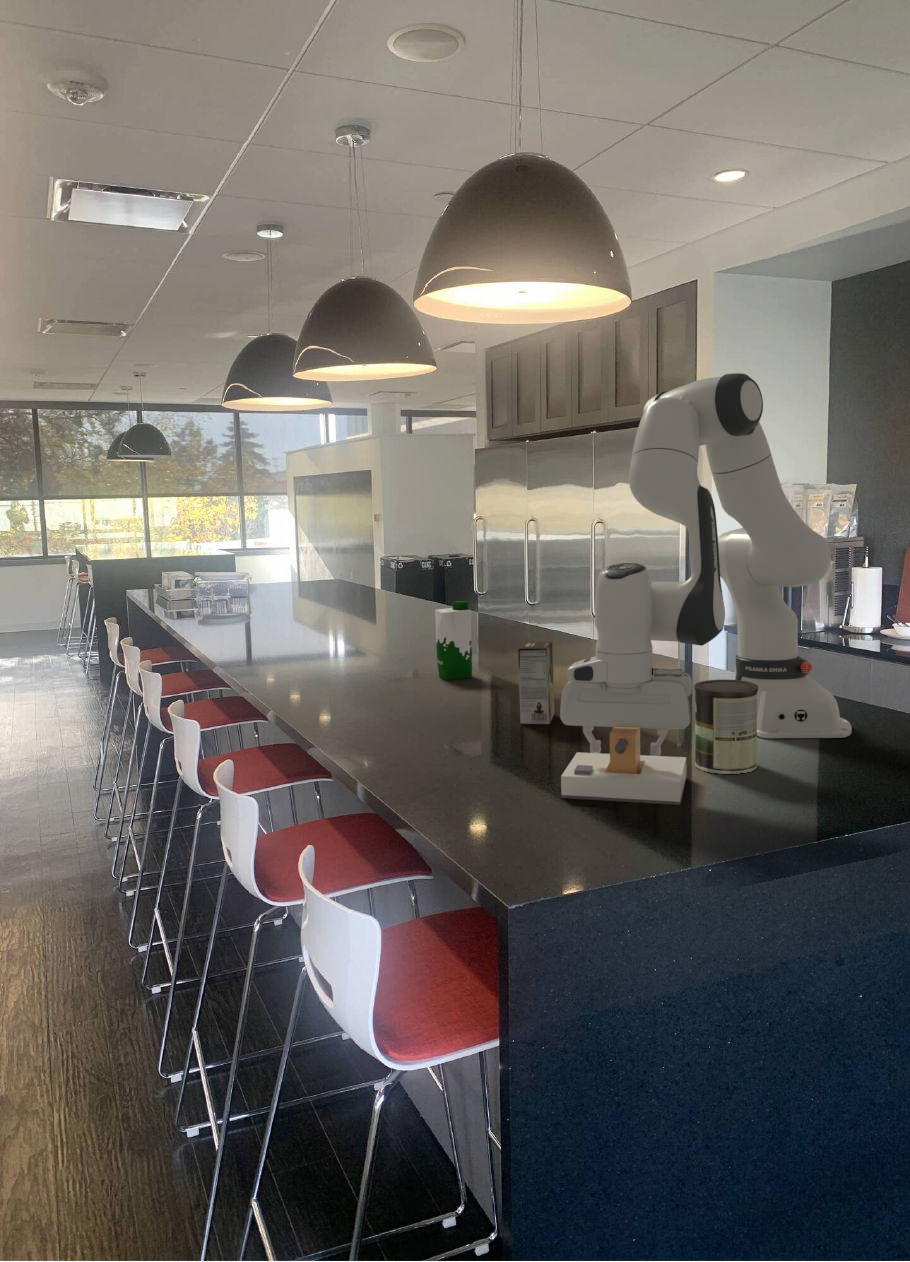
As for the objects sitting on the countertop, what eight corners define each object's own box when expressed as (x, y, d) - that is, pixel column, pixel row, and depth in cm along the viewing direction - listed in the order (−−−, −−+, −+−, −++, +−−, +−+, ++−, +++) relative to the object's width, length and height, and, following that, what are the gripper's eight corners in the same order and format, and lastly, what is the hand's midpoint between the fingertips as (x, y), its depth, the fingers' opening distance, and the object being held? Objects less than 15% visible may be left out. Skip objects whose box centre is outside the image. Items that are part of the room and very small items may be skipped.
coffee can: (684, 769, 160) (683, 687, 158) (710, 755, 168) (710, 677, 166) (742, 778, 153) (743, 693, 151) (767, 763, 161) (767, 682, 159)
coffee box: (525, 714, 205) (523, 641, 202) (554, 714, 203) (553, 640, 201) (519, 724, 196) (517, 647, 194) (550, 724, 194) (548, 647, 192)
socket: (686, 778, 155) (686, 753, 154) (680, 805, 141) (680, 778, 141) (577, 772, 160) (576, 748, 160) (561, 797, 147) (560, 772, 146)
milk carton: (476, 678, 248) (473, 602, 245) (443, 681, 245) (440, 604, 242) (466, 672, 256) (463, 599, 253) (434, 675, 254) (431, 601, 251)
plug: (640, 779, 153) (640, 725, 152) (633, 797, 144) (633, 739, 143) (615, 778, 154) (614, 724, 153) (607, 795, 146) (606, 738, 144)
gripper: (693, 665, 148) (693, 751, 150) (564, 663, 154) (566, 745, 156) (691, 672, 142) (691, 762, 144) (556, 670, 148) (558, 756, 150)
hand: (625, 753), depth 150 cm, fingers open, 8 cm apart
